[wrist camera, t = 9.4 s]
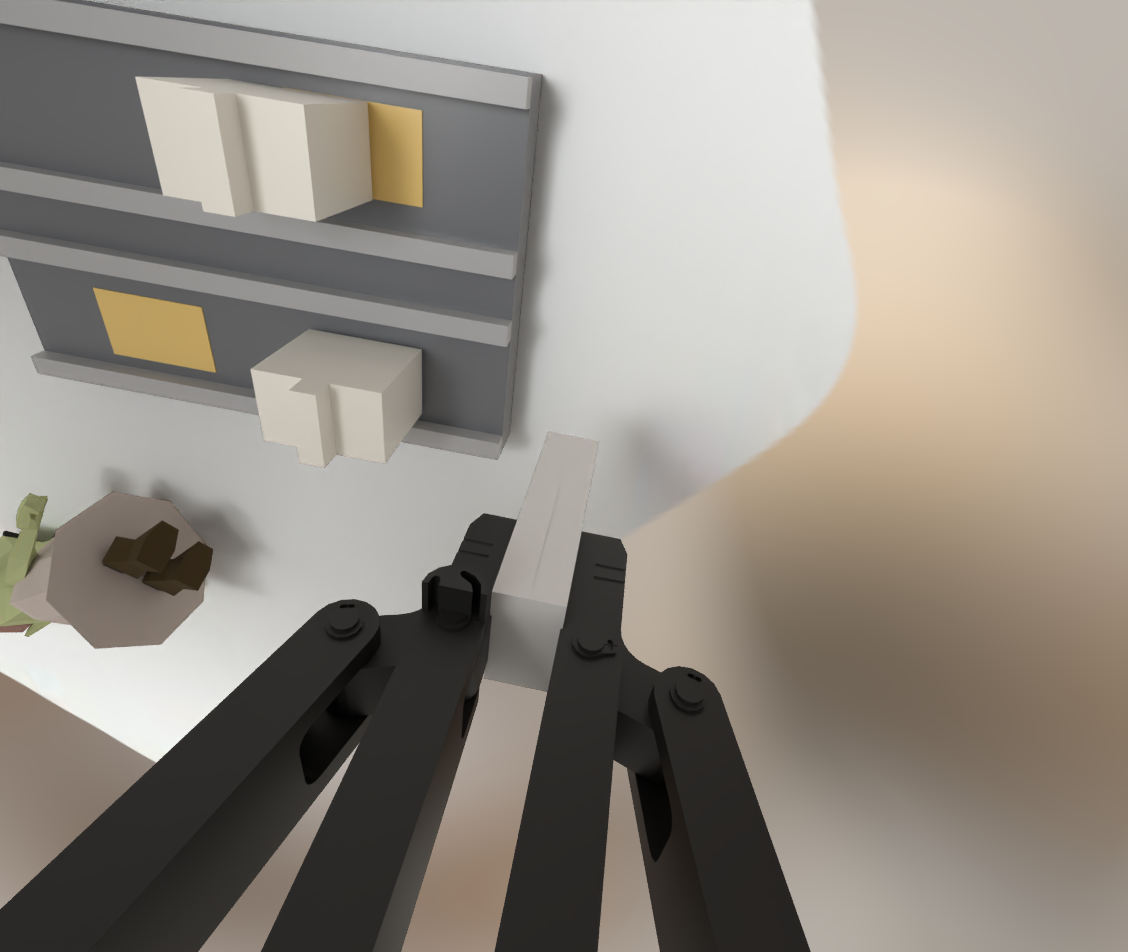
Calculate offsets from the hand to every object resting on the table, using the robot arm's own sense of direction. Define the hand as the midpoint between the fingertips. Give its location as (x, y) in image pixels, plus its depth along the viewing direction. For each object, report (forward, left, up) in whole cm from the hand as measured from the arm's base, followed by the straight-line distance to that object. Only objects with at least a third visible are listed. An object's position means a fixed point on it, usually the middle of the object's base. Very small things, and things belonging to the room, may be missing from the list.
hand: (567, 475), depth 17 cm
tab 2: (-8, 0, -4) cm, 9 cm away
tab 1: (-9, +7, -4) cm, 12 cm away
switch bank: (-12, +4, -6) cm, 14 cm away
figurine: (-23, -12, -6) cm, 27 cm away
